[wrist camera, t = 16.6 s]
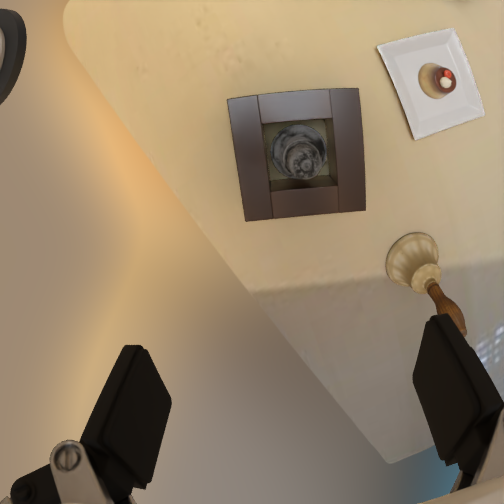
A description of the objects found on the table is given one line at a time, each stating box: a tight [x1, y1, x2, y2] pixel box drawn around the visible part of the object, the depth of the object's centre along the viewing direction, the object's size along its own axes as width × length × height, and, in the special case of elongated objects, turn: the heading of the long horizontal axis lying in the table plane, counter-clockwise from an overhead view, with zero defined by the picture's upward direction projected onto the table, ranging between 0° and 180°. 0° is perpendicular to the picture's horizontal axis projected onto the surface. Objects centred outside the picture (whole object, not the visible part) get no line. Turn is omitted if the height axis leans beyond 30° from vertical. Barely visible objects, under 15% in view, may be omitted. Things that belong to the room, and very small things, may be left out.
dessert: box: [377, 28, 485, 140], centre depth 27 cm, size 12×12×5 cm
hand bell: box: [386, 233, 467, 337], centre depth 33 cm, size 8×8×16 cm
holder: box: [227, 88, 366, 222], centre depth 33 cm, size 13×13×5 cm
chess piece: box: [270, 124, 327, 180], centre depth 29 cm, size 6×6×12 cm
